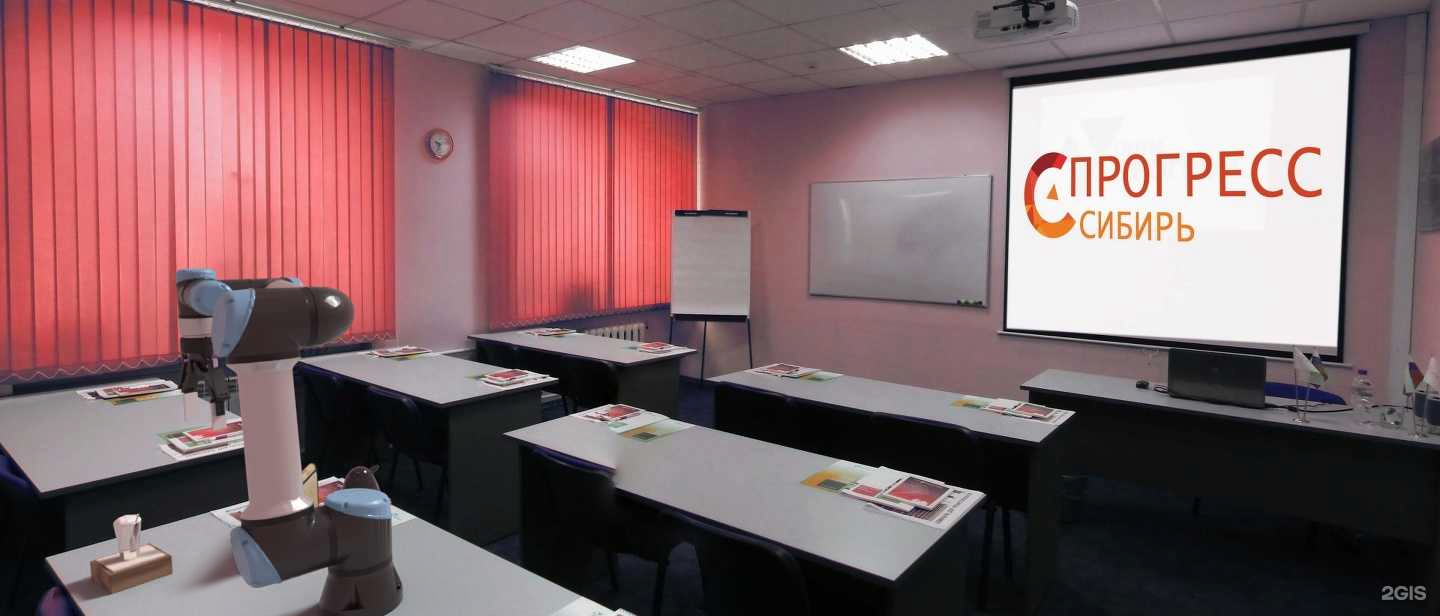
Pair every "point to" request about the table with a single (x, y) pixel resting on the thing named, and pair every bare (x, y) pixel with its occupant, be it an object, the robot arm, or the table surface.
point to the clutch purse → (311, 483)
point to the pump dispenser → (361, 479)
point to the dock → (131, 569)
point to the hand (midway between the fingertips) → (205, 424)
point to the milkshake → (128, 536)
